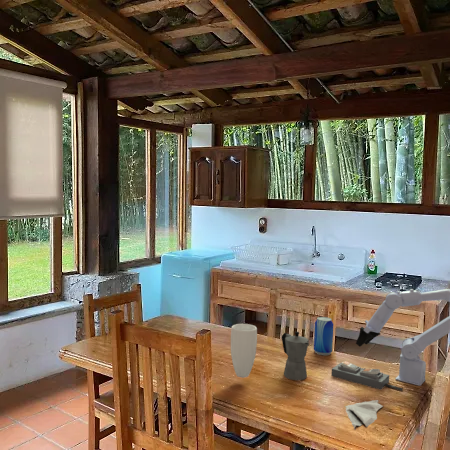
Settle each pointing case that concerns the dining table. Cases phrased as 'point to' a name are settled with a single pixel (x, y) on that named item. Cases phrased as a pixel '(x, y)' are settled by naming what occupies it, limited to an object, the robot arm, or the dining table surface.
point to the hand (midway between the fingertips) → (361, 343)
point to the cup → (243, 348)
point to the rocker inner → (371, 371)
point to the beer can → (323, 336)
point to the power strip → (363, 377)
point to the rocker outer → (349, 365)
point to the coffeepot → (295, 356)
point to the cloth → (363, 412)
